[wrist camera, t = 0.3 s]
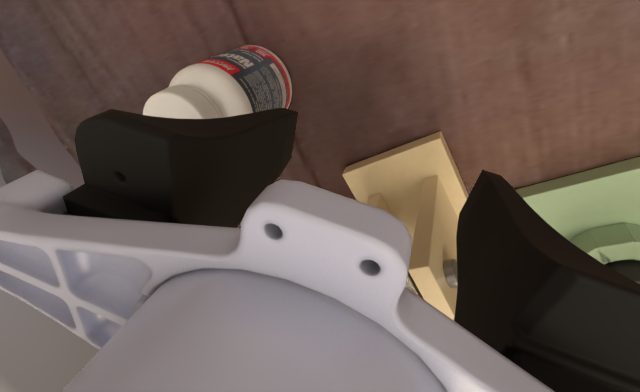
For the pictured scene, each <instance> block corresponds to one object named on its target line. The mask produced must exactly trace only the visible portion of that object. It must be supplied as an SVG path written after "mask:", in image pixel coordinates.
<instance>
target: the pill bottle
mask: <svg viewBox="0 0 640 392" xmlns="http://www.w3.org/2000/svg"><path fill="white" fill-rule="evenodd" d="M291 98H292V83H291V79H290V75H289V73H288V71H287V69H286V67H285V65H284V64H283V62H282V61H281V60H280V59H279V58H278V57H277V56H276V55H275V54H274V53H273V52H271V51H270V50H268V49H266V48H264V47H261V46H256V45H245V46H241V47H238V48H235V49H233V50H230V51H227V52H225V53H222V54H220V55H217V56H214V57H211V58H209V59H206V60H203V61H201V62H198V63H195V64H192V65H190V66H187V67H186V68H184V69H182V70H181V71H179V72H178V73H177V74H176V75H175V76H174V77H173V79H172V81H171V82H170V85H169V87H168V88H166V89H164V90H162V91H160V92H158V93H156V94H154V95H152V96H151V97H150V98H149V99H148V100H147V102H146V104H145V106H144V109H143V115H147V116H155V117H164V118H176V119H211V118H223V117H231V116H237V115H243V114H249V113H254V112H259V111H264V110H269V109H275V108H286V109H288V107H289V105H290V102H291Z"/></svg>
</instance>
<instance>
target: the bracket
mask: <svg viewBox="0 0 640 392" xmlns="http://www.w3.org/2000/svg"><path fill="white" fill-rule="evenodd" d="M342 175H343V177H344V179H345V181H346V182H347V184H348V186H349V188H350V190H351V191H352V193H353V195H354V197H355V198H356V200H357V201H359V202H362V203H365V204H368V205H371V206H374V207H377V208H380V209H382V210H385V211H387V212H388V213H390V214H391V215H393V216H395V217H396V218H398V219H400V220H401V221H403V223H404V224H405V226H406V228H407V229H408V231H409V233H410V234H411V236H412V249H411V257H410V263H409V269H408V271H409V273H410V275H411V277H412V278H413V280H414V282H415V284H416V286H417V288H418V289H419V291H420V293H421V295H422V297H423V299H424V300H425V301H427V302H428V303H429V304H431V305H432V306H434V307H435V308H436V309H438V310H439V311H441V312H442V313H444V314H445V315H446V316H448V317H449V318H451V319H452V320H454V317H455V308H456V299H457V282H458V281H457V248H456V233H457V225H458V219H459V213H460V211H461V209H462V208H463V206H464V204H465V202H466V200H467V198H468V196H469V195H468V193H467V190H466V188H465V186H464V183H463V181H462V179H461V176H460V174H459V172H458V169H457V167H456V165H455V162H454V160H453V158H452V155H451V153H450V151H449V148H448V146H447V144H446V141H445V139H444V137H443V134H442V132H441V131H439V132H437V133H434V134H431V135H429V136H426V137H423V138H421V139H418V140H415V141H413V142H410V143H408V144H405V145H402V146H400V147H397V148H394V149H392V150H389V151H386V152H384V153H381V154H379V155H376V156H373V157H371V158H368V159H365V160H363V161H360V162H357V163H355V164H352V165H349V166H347V167H346V168H345V170H344V172H343V173H342Z"/></svg>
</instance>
